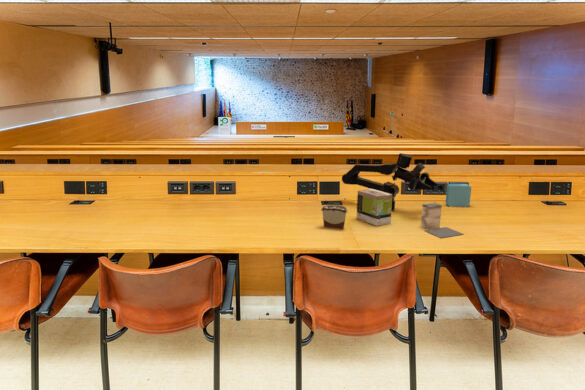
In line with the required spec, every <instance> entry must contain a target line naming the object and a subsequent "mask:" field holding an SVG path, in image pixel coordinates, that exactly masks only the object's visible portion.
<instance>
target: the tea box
mask: <svg viewBox="0 0 585 390" xmlns="http://www.w3.org/2000/svg"><path fill="white" fill-rule="evenodd" d="M356 198H357V199H356V200H357V201H356V219H357V220H360V221H363V222H365V223H368V224H371V225H373V226H375V227H376V226H384V225H388V224H391V222H392V212H393V211H392V194H390V193H386V192H383V191H379V190H375V189H370V188H366V189H359V190H357V197H356Z"/></svg>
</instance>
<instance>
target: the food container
mask: <svg viewBox="0 0 585 390" xmlns="http://www.w3.org/2000/svg"><path fill="white" fill-rule="evenodd" d="M321 212H322V221H323V228H324V229H332V230H333V229H334V230H344V229H345V224H346V215H347V213H348V209H347V207H346V206H344V205H340V204H326V205H323V206H322V208H321Z"/></svg>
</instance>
